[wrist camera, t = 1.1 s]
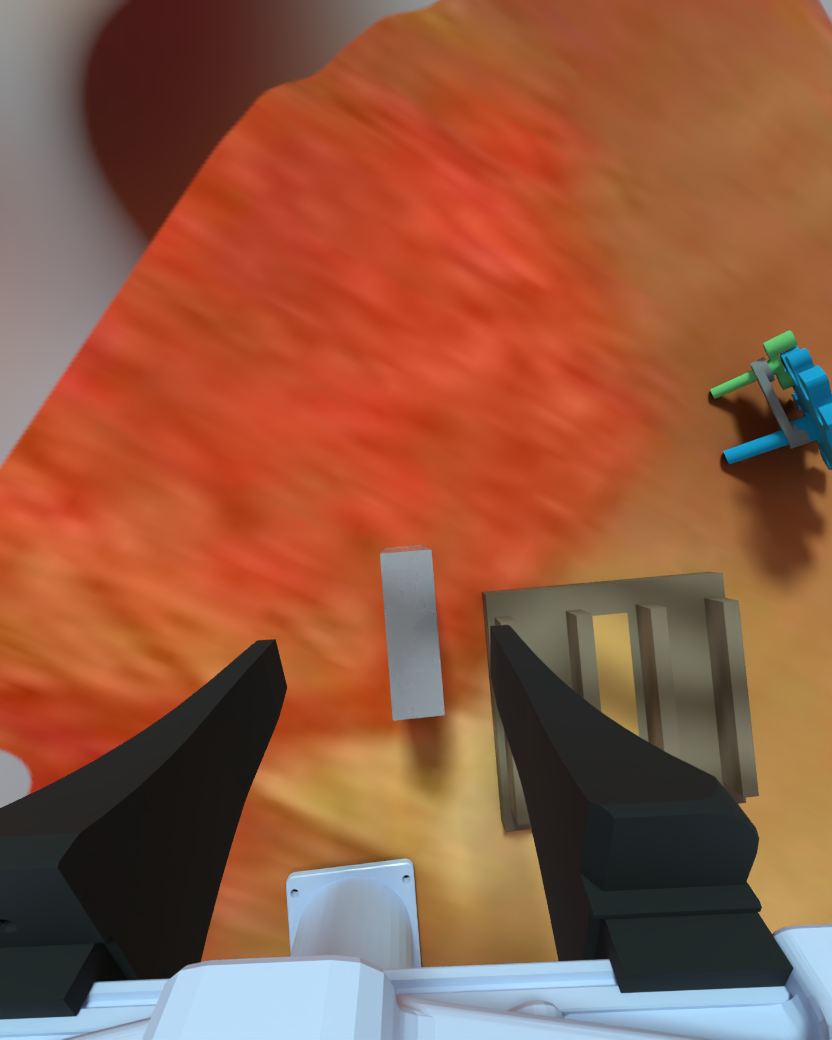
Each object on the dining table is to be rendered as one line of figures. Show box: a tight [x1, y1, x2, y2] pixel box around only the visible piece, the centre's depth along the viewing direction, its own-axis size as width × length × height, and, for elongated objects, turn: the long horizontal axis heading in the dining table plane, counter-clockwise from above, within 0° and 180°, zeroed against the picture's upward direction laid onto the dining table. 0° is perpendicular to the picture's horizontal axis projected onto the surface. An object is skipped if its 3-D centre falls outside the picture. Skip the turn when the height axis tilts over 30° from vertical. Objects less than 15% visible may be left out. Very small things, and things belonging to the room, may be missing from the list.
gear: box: [710, 330, 832, 470], centre depth 25 cm, size 11×6×10 cm
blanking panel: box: [380, 545, 445, 721], centre depth 22 cm, size 8×2×7 cm, turn 5°
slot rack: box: [482, 572, 759, 832], centre depth 24 cm, size 15×16×3 cm
